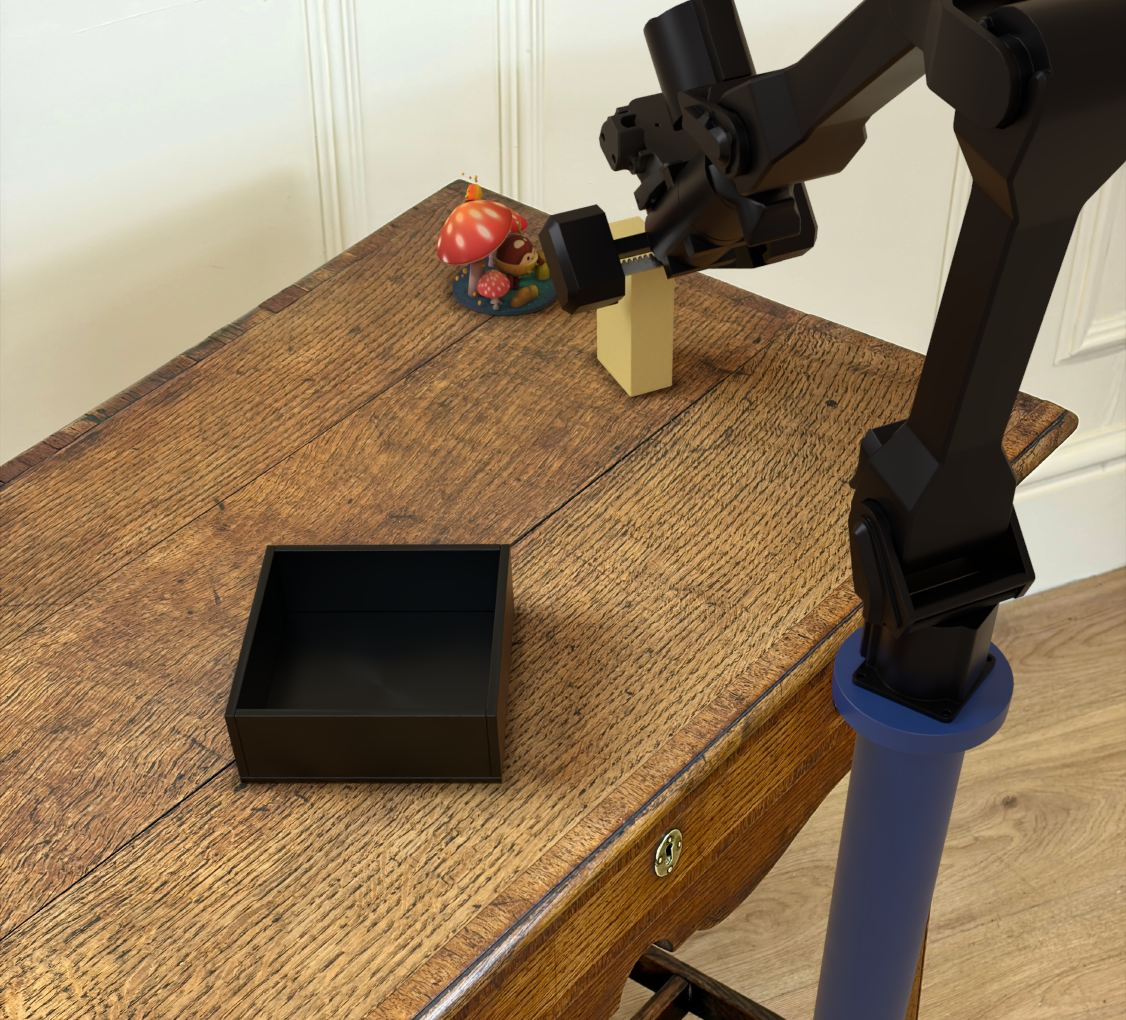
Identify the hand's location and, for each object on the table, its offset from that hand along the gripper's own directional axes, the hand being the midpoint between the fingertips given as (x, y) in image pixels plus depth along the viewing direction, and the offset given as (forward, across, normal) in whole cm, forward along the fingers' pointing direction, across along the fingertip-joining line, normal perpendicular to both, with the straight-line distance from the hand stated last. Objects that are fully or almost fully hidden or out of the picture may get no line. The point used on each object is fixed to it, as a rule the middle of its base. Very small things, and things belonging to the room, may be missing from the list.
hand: (641, 275), depth 114 cm
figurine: (+19, +4, -6) cm, 20 cm away
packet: (+7, 0, +5) cm, 9 cm away
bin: (-11, +29, +23) cm, 39 cm away
